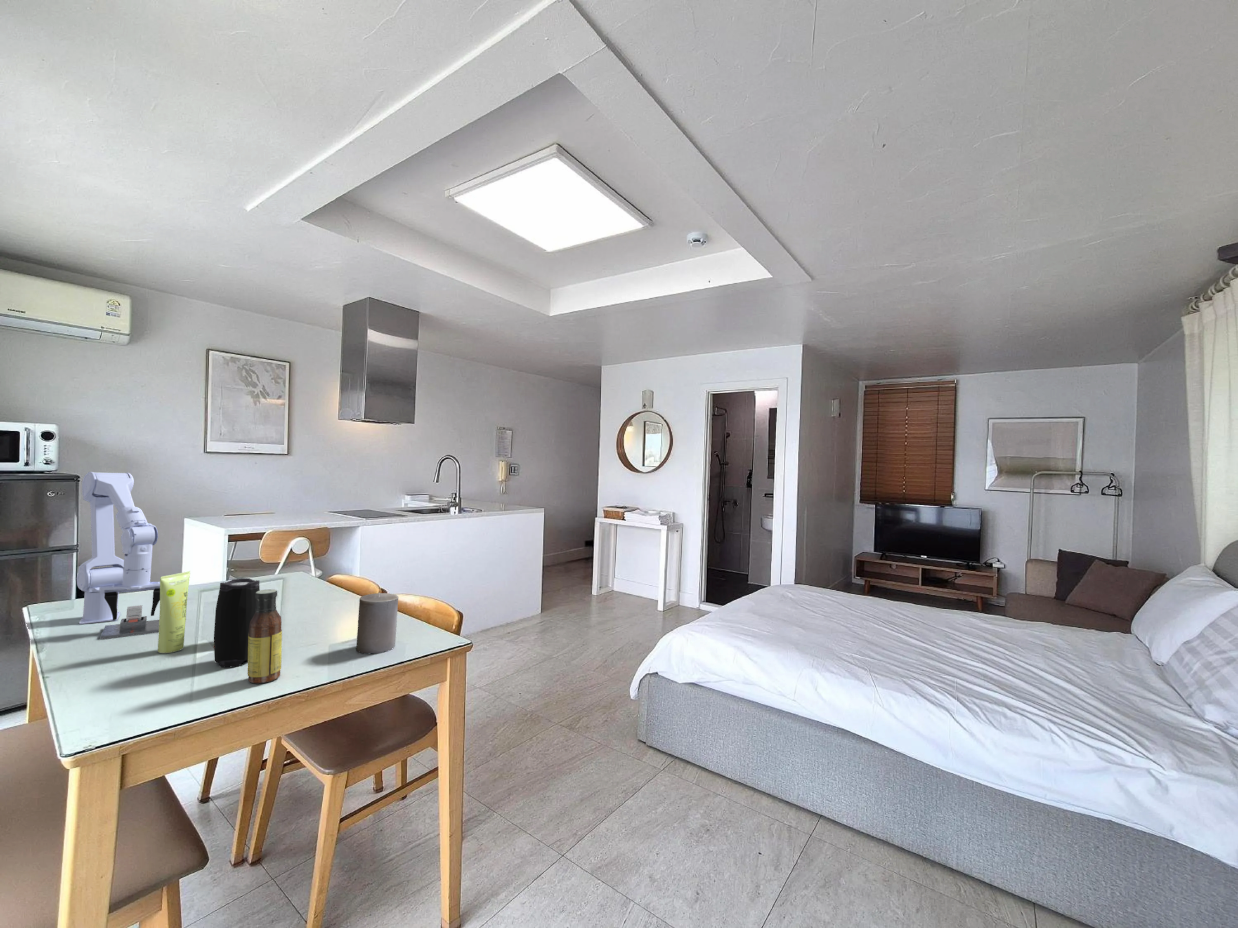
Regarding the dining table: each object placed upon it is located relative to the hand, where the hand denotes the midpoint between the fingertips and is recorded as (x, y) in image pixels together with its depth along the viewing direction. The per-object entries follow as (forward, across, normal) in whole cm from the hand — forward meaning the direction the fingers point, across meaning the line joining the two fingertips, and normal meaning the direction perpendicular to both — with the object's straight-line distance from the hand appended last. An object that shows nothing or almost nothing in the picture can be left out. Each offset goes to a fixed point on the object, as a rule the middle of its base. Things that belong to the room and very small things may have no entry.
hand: (134, 616), depth 142 cm
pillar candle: (+4, +50, -52) cm, 72 cm away
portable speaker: (+4, +20, -44) cm, 48 cm away
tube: (+4, +8, -26) cm, 27 cm away
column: (+4, 0, 0) cm, 4 cm away
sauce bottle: (+4, +24, -60) cm, 65 cm away
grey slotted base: (+4, 0, 0) cm, 4 cm away
